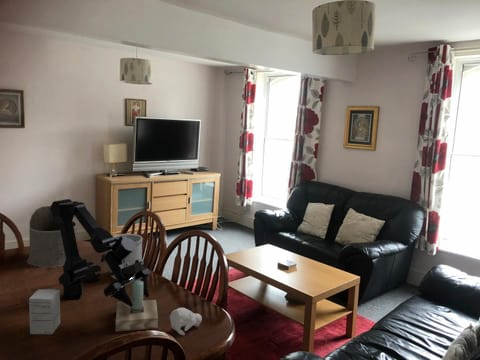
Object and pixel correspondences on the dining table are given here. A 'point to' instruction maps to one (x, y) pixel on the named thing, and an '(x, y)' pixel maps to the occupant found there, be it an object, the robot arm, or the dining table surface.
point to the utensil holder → (137, 252)
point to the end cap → (92, 272)
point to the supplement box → (44, 311)
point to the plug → (137, 297)
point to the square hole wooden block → (136, 317)
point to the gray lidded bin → (46, 239)
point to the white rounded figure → (184, 319)
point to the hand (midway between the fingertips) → (140, 301)
